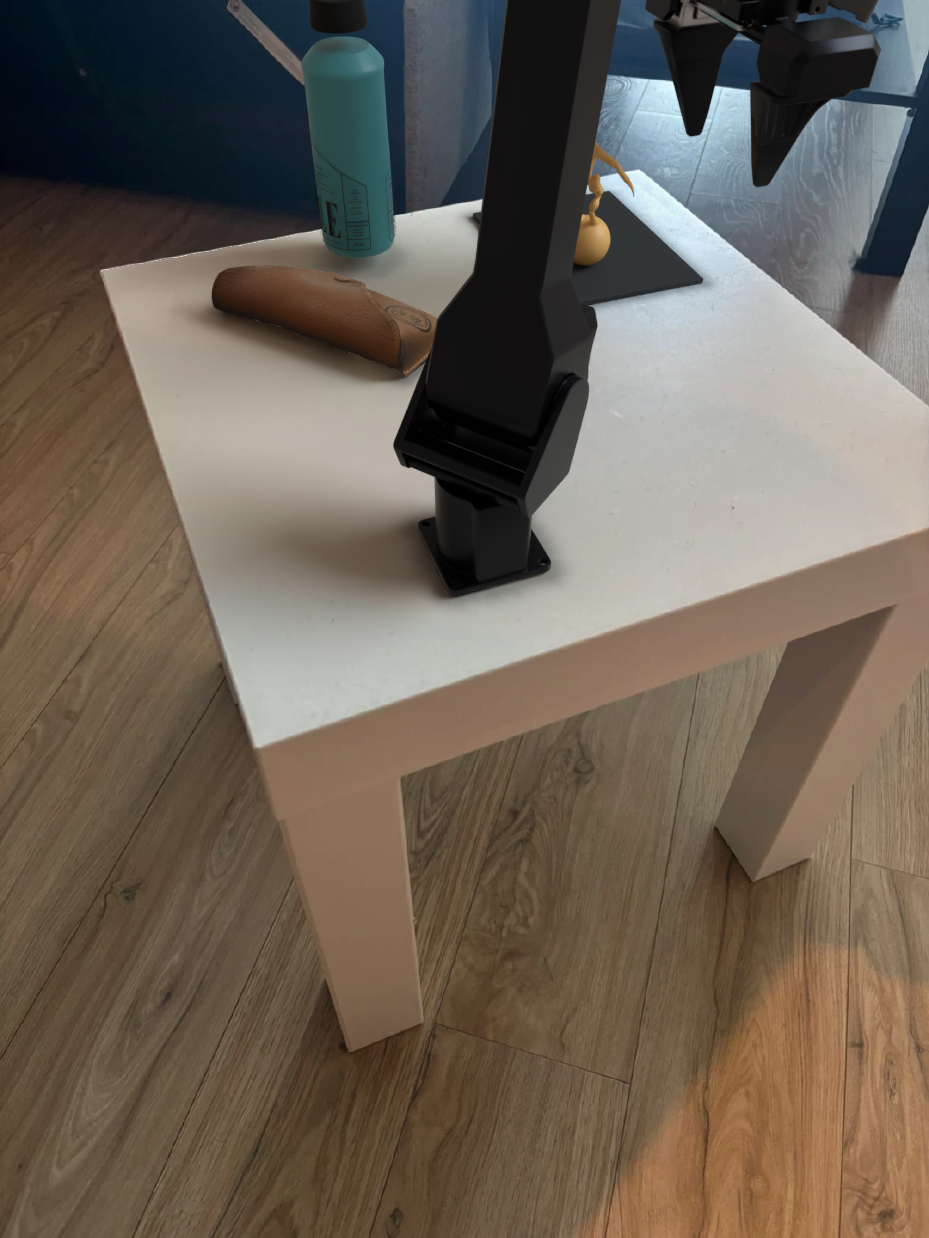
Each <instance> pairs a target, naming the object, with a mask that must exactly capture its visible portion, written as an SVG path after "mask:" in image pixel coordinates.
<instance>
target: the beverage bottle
mask: <svg viewBox="0 0 929 1238" xmlns="http://www.w3.org/2000/svg"><path fill="white" fill-rule="evenodd" d="M309 26H310V28H311V29H312V30H313V31H315V32H318V33H324V34H331V35H332V34H333V35H334V34H335V35H337V34H339V35H340V34H341V35H343V34H350V33H356V32H359V31H361V30H363V29H365V28H366V27H367V26H368V18H367V12H366V7H365V0H309ZM300 67H301V72H302V76H303V83H304V91H305V98H306V108H307V112H306V113H307V117H308V126H307V129H309V130H308V131H307V136H308V137H309V141H310V145H311V152H312V160H313V172H314V176H313V179H315V181H313V182H314V185H315V188H314V191H315V201H316V205H317V207H316V208H317V213H318V215H317V216H318V218H319V222H318V224H319V229H321V230H320V232H321V236H320V237H321V240H322V241H323V243H324V245H325V247H326V249H327V250H328V251H329V252H331V253H333V254H334V255H337V256H339V257H344V258H352V259H353V258H354V259H363V258H371V257H374V256H378V255H381V254H384V253H385V252H387V251H388V250H389V249H390V248H391V247H392V246H393V244H394V242H395V237H396V235H397V234H396V233H397V230H398V229H397V228H396V225H397V221H396V210H395V207H396V204H395V196H394V182H393V181H394V180H393V178H392V176H394V174H393V170H392V169H393V166H392V165H391V162H393V159H391V154H390V153H391V152H390V150H391V149H390V148H392V146H391V145H390V144H391V142H390V139H389V131H388V130H389V129H388V117H387V116H388V113H387V101H386V85H385V84H386V83H385V71H384V69H385V59H384V57H383V56H382V54H381V53H380V52H379V50H377V49H376V47H374V46H373V45H372V44H371V43H370V42H368V41H367V40H366V39H364V38H360V37H356V36H333V37H332V36H331V37H327V38H323V39H320V40H318V41H316V42H315V43H313V45H311V47H310V48H309V49H308V50H307V52H306V53H305V55H304V56H303V58H302V60H301V62H300Z"/></svg>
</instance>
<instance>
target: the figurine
mask: <svg viewBox="0 0 929 1238" xmlns="http://www.w3.org/2000/svg"><path fill="white" fill-rule="evenodd" d="M597 159H598V160H600V161H602V162H603V163H604V164H606V165H608V166H609V167H610V168H612V169H615V170H616V172H617V174H618V176H619V177H620V178H621V180H622V181H623V182H624V183H625V184H626V185H627V186H628V188H630V190H631V193H632V197H633V198H635V188H634V185H633V183H632V181H631V178H630V177H629V176H628V174H627V173H626V172H625V171H624V169H623V167H622V165H621V164H620V163H619V161H617V160H616V159H615V158H614V157H613V156H611V155H610V154H609V153H607V152H606V151H605V150H604V149H603V148H602V146H600V145H599V144H598V143H597V140H596V141H595V147H594V152H593V157H592V163H591V168H590V174H589V179H588V185H587V189H588V191H589V192H590V193H591V194H592V193H594V194H595V196H596V197H595V198H594V199H593V200H592V201H591V203H590V211H589V215H584V214H583V215H582V218H581V223H580V229H579V234H578V240H577V245H576V251H575V256H574V263H576V264H578V265H583V266H587V265H592V264H595V263H597V262H598V261H600V260H601V259H602V258H603V257H604V256H605V254H606V253H607V251H608V249H609V245H610V233H609V229H608V227H607V225H606V224H605V223H604V222H603V221H602V220H601V219H600V218H598V217H596V216H595V213H594V211H595V210H596V209H597V208H598V206H599V200H600V198H601V196H602V194H603V192H604V191H605V188H604V187H603V185H602V183H601V176H600V174H599V173H595V174H594V175H593V169H594V166H595V164H596V162H597Z"/></svg>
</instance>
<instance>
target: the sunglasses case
mask: <svg viewBox="0 0 929 1238" xmlns="http://www.w3.org/2000/svg"><path fill="white" fill-rule="evenodd" d="M210 296H211V303H212V305H213V308H214V309H215V310H216V311H220V312H222V313H225V314H230V315H232V316H235V317H239V318H244V319H246V320H247V319H248V320H250V321H257V322H260V323H261V324H265V325H269V326H274V327H278V328H281V329H283V330H284V331H288V332H289V333H293V334H295V335H299V336H301V337H304V338H307V339H310V340H314V341H316V342H320V343H323V344H325V345H327V346H329V347H333V348H335V349H338V350H340V351H343V352H346V353H349V354H352V355H354V356H358V357H360V358H363V359H365V360H368V361H371V362H373V363H377V364H379V365H381V366H384V367H386V368H389V369H391V370H397V371H399V372H400V373H401V374H403V375H404V376H406V377H409V376H410V375H411V374H412V373H414V372H415V371H416V370H418V369H419V368H420V367H421V366H423V365H425V362H426V360H427V357H428V355H429V353H430V350H431V348H432V344H433V338H434V333H435V328H436V322H437V319H438V317H437V318H436V317H435V316H432V315H431V314H429V313H427V312H425V311H423V310H422V309H419V308H417V307H414V306H412V305H410V304H407V303H406V302H403V301H400V300H398V299H396V298H394V297H391V296H388V295H385V294H382V293H379V292H377V291H375V290H371V289H368V288H367V284H366V282H363V281H360V280H357V279H354V278H350V277H348V276H345V275H342V274H339V273H335V272H331V271H324V270H315V269H311V268H304V267H296V266H289V265H271V264H265V265H261V264H259V265H257V264H256V265H255V264H253V265H241V266H233V267H232V266H231V267H227V268H225V269H223V270H222V271H220V272H218V274H217V275H216V277H215V278H214V281H213V284H212V287H211V295H210Z"/></svg>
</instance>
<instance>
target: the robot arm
mask: <svg viewBox="0 0 929 1238" xmlns="http://www.w3.org/2000/svg"><path fill="white" fill-rule="evenodd" d="M879 1H880V0H646V2H645V8H644V10H645V11H647V12H648V13H650V14H651V15H653V16H654V17H656V18H654V19H653V23H652V24H653V29H654V30H655V31H656V32H657V35H658V37H659V40H660V41H659V42H660V44H661V47H662V50H663V54H664V57H665V60H666V63H667V66H668V67H667V68H668V70H669V73H670V77H671V81H672V85H673V88H674V93H675V96H676V100H677V104H678V107H679V111H680V116H681V119H682V122H683V127H684V130H685V134H686V135H687V136H688V137H691V138H692V137H698V136H700V135H702V133H703V130H704V127H705V124H706V121H707V118H708V115H709V111H710V108H711V104H712V100H713V96H714V93H715V88H716V85H717V80H718V76H719V72H720V68H721V65H722V60H723V57H724V53H725V51H726V50H727V48H728V47H729V46H730V44H731V43H732V42H733V41H734V40H735V39H736V37H737V36H738V35H739V34H740V35H741V36H743V37H745V38H747V39H748V40H750V41H752V42H753V43H755V44H757V45H759V48H758V53H757V57H756V62H755V64H756V69H757V73H758V74H757V75H758V78H759V80H757V81H751V82H750V84H749V108H750V109H749V112H750V113H749V114H750V167H751V178H752V179H751V181H752V185H753V186H754V187H755V188H762V187H767V186H769V185H770V184H771V183H772V181H773V179H774V178H775V176H776V174H777V172H778V171H779V169H780V168H781V166H782V164H783V162H784V161H785V159H786V158H787V156H788V154H789V153H790V151H791V149H793V146H794V145H795V143H796V142H797V140H798V138H799V137H800V135H801V134H802V132H803V130H804V129H805V128H806V126H807V125H808V124H809V122H810V121H811V119H812V118H813V117H814V115H815V114H816V113H817V112H818V111H819V110H820V109H821V108H822V107H824V106H825V105H827V103H829V102H830V101H831V100H833V99H838V98H839V99H840V98H845V97H847V96H850V94H851V93H852V92H853V91H854V90H861V89H868V88H870V87H871V84H872V82H873V79H874V75H875V72H876V68H877V65H878V61H879V58H880V55H881V51H882V48H881V46H880V44H879V42H878V40H877V38H876V36H875V34H874V33H873V32H871V31H869V30H867V29H865V28H863V27H861V26H859V25H857V24H856V23H853V22H851V21H849V20H847V19H845V18H843V17H841V16H835V17H826V18H818V19H811V20H802V21H798V19H799V15H803V14H804V15H805V14H806V15H808V16H818V15H824V14H826V13H827V9H828V6H829V7H831V8H832V9H835V10H837V11H839V12H840V11H845V12H847V13H848V14H849V13H850V14H852V15H853V16H854V19H855V20H856V21H858V22H861V23H863V24H867V23H868V22H869V19H870V17H871V16H872V14H873V12H874V11H875V8H876V6H877V5H878V2H879ZM621 3H622V0H505V9H504V16H503V25H502V32H501V33H502V35H501V41H500V49H499V50H500V51H499V59H498V65H497V66H498V67H497V73H496V74H497V75H496V83H495V92H494V99H493V108H492V116H491V124H490V133H489V140H488V141H489V142H488V149H487V150H488V151H487V158H486V160H487V161H486V167H485V173H484V184H483V191H482V199H481V200H482V201H481V209H480V210H481V211H480V212H481V216H480V224H478V233H477V234H478V235H477V240H476V241H477V242H476V250H475V259H474V265H473V269H472V273H471V274H470V276H469V277H467V279H466V280H465V282H464V283H463V284H462V286H461V287H460V288H459V289H458V291H457V292H456V294H455V295H453V297H452V298H451V300H450V301H449V302H448V303H447V305H446V306H445V307H444V308H443V310H442V311H441V312H440V313H439V315H438V317H437V322H436V328H435V333H434V338H433V344H432V348H431V350H430V353H429V355H428V357H427V360H426V362H425V363H424V364H423V367H422V369H421V372H420V375H419V377H418V380H417V382H416V384H415V387H414V390H413V393H412V395H411V397H410V400H409V402H408V404H407V407H406V410H405V412H404V415H403V417H402V420H401V421H400V425H399V427H398V430H397V433H396V435H395V437H394V440H393V444H392V448H393V450H394V453H395V455H396V457H397V460H398V462H399V464H400V466H401V467H404V468H407V469H413V470H417V471H418V472H421V473H424V474H426V475H429V476H430V477H433V478H434V511H435V513H434V516H431V517H427V518H424V519H421V520H419V521H418V522H417V531H418V534H419V536H420V538H421V540H422V541H423V544H424V546H425V548H426V550H427V552H428V554H429V556H430V558H431V561H432V562H433V564H434V566H435V568H436V570H437V573H438V575H439V577H440V578H441V580H442V583H443V585H444V587H445V589H446V591H447V592H448V594H450V596H460V595H465V594H468V593H472V592H476V591H480V590H484V589H487V588H491V587H495V586H499V585H502V584H506V583H510V582H514V581H518V580H523V579H526V578H529V577H530V578H531V577H533V576H537V575H540V574H545V573H547V572H549V571H550V570H551V568H552V559H551V558H550V556H549V554H548V553H547V551H546V549H545V548H544V546H543V544H542V543H541V542H540V540H539V538H538V537H537V535H536V534H535V532H534V530H533V528H532V526H533V525H532V524H533V515H535V513H536V512H537V511H538V509H539V508H540V507H541V506H542V505H543V504H544V503H545V501H546V500H547V499H548V498H549V497H550V496H551V495H552V494H553V492H554V491H555V490H556V489H557V488H558V487H559V485H560V484H561V483H562V482H563V481H564V480H565V478H566V477H567V476H568V475H569V473H570V470H571V467H572V465H573V464H572V463H573V460H574V456H575V452H576V448H577V444H578V441H579V437H580V432H581V429H582V424H583V422H584V418H585V414H586V409H587V406H588V401H589V397H590V385H589V381H588V380H589V368H590V367H589V366H590V361H591V360H590V359H591V353H592V350H593V346H594V342H595V339H596V334H597V331H598V327H599V324H598V319H597V318H598V317H597V311H596V309H595V307H594V306H591V305H585V304H582V303H579V300H578V297H577V294H576V292H575V289H574V286H573V283H572V280H571V275H572V267H573V262H574V256H575V251H576V245H577V240H578V234H579V229H580V223H581V218H582V212H583V207H584V201H585V196H586V194H587V191H588V179H589V174H590V168H591V163H592V157H593V152H594V147H595V141H596V142H597V135H598V129H599V124H600V119H601V115H602V114H601V112H602V108H603V101H604V98H605V91H606V85H607V82H608V81H607V80H608V75H609V69H610V65H611V64H610V63H611V58H612V53H613V48H614V42H615V36H616V30H617V26H618V20H619V15H620V9H621V5H622V4H621Z"/></svg>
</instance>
